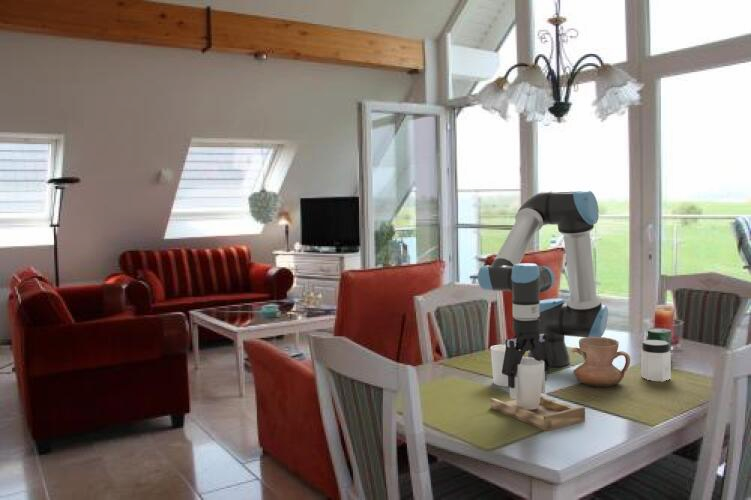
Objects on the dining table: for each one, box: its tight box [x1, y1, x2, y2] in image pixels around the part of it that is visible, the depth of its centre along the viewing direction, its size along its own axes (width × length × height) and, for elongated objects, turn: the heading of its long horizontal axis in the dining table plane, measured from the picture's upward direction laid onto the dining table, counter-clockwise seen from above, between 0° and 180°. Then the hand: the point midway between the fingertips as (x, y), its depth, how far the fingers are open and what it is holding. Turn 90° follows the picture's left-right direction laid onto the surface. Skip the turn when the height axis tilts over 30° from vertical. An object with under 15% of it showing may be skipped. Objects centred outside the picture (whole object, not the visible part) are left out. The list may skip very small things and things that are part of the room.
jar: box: [640, 339, 672, 383], centre depth 212 cm, size 9×8×12 cm
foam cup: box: [516, 356, 544, 409], centre depth 184 cm, size 10×9×13 cm
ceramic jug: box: [571, 336, 631, 388], centre depth 208 cm, size 18×14×14 cm
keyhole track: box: [490, 394, 586, 432], centre depth 182 cm, size 23×14×4 cm, turn 28°
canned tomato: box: [646, 327, 672, 352], centre depth 235 cm, size 8×8×11 cm
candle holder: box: [489, 343, 521, 388], centre depth 213 cm, size 10×10×12 cm
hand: (527, 395), depth 185 cm, fingers closed on foam cup, 9 cm apart
